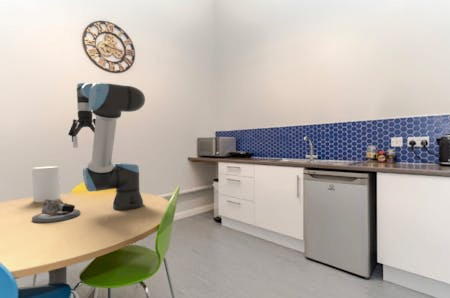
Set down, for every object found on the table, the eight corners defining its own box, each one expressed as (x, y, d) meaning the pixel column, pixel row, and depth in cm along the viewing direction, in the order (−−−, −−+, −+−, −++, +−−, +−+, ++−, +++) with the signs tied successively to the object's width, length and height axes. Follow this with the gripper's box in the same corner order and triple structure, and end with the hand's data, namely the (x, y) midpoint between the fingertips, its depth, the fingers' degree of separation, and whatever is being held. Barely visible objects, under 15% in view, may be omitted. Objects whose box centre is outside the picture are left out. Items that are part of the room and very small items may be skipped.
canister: (65, 197, 164) (64, 166, 164) (46, 202, 151) (44, 168, 150) (48, 196, 167) (46, 165, 167) (27, 201, 154) (26, 168, 154)
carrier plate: (88, 211, 130) (88, 208, 130) (60, 223, 111) (60, 220, 111) (54, 210, 132) (54, 208, 132) (20, 222, 114) (20, 219, 114)
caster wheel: (75, 214, 129) (66, 217, 119) (51, 211, 127) (40, 213, 118) (78, 201, 130) (70, 202, 120) (54, 197, 128) (44, 199, 119)
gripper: (108, 110, 152) (110, 146, 153) (69, 112, 155) (71, 147, 156) (101, 109, 145) (102, 147, 145) (60, 110, 148) (61, 147, 148)
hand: (86, 147), depth 151 cm, fingers open, 13 cm apart
